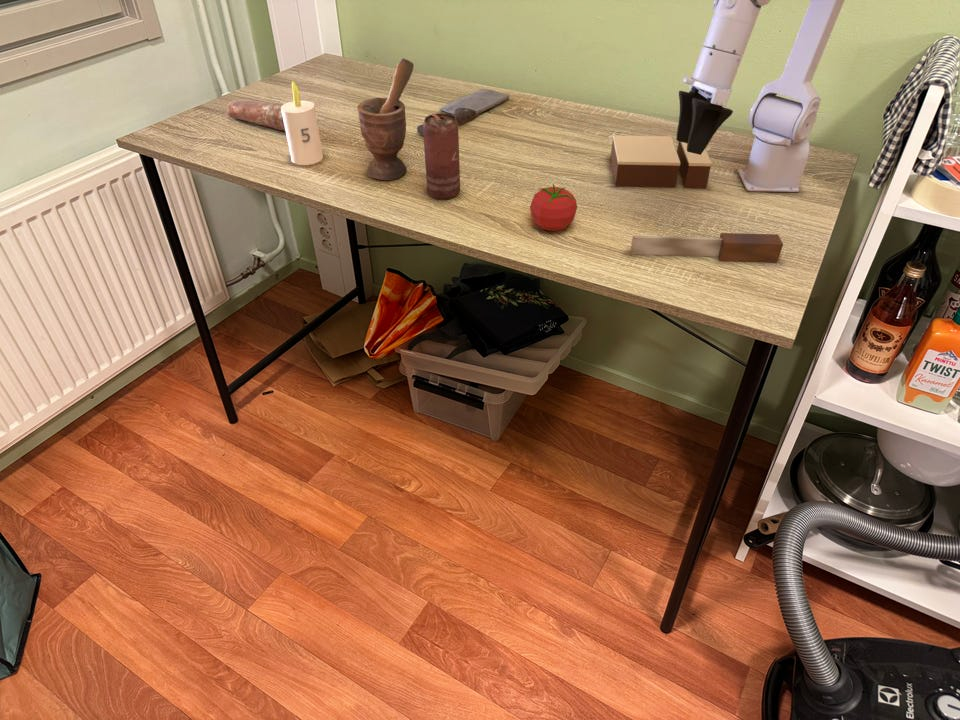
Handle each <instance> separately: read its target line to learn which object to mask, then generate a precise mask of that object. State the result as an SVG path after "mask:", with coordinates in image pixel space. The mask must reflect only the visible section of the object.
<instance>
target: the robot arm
mask: <svg viewBox="0 0 960 720" xmlns="http://www.w3.org/2000/svg"><path fill="white" fill-rule="evenodd" d="M770 2H771V0H713V3H712V10H713V11H714V12H713V15H712V18H711V21H710V24H709V26H708V31H707V33H706V36H705V39H704V41H703V44H702V47H701V50H700V53H699V56H698V59H697V61H696V65H695V68H694V70H693V73H692V77H688V76H683V77H682V80H681V82H682V83H684V84H687V85H689V88H688V89H689V92H688V91H684V90H678V98H679V116H678V123H677V131H676V138H675V139H676V141H677V142H679V141H680V142H684V143H687V152H691V153H695V154H699V155H701V154H702V152H703V151H704V150H705V149H706V148H707V146H708V145H709V143H710V142H711V140H712V139H713V137H714V135H715V134H716V133H717V131H718V129H719V128H721V126H722V125H723V124H724V122H726V121H727V120H728V119H729V118H730V117H731V116H732V115H733V112H734V110H733V109H731V108H727V105H728V103H729V99H730V96H731V94H732V90H733V89H732V87H733V84H734V81H735V78H736V76H737V73H738V70H739V68H740V64H741V62H742V59H743V56H744V54H745V51H746V49H747V46H748V44H749V40H750V38H751V35H752V33H753V30H754V28H755V25H756V21H757V19H758V16H759V14H760V11H761V9H762V7H764V6H766V5H768V4H770ZM844 3H845V0H810V2H809V3H808V6H807V9H806V12H805V14H804V16H803V19H802V22H801V25H800V27H799V30H798V32H797V35H796V38H795V40H794V41H793V42H794V43H793V45H792V48H791V50H790V53H789V56H788V58H787V61H786V64H785V66H784V68H783V71H782V73H781V75H780V77H779V78H776V79H774V80H772V81H769V82H768V83H766V84H764V85H763V87H762V88H761V90H760V93H759V95H758V96H757V99H755V101H754V102H753V105H751V109H750V111H749V117H748V119H749V120H748V122H749V126H750V128H752V132H751V133H752V135H754V140H753V141H752V142H753V143H752V147H751V151H750V153H749V158H748V161H747V165H746V167H745V168H746V169H738V170H737V174H738V175H739V178H740V181H742V184H743V186H744V189H745V190H746V191H747V192H769V193H770V192H771V193H772V192H776V193H777V192H778V193H799V192H800V188H799V186H800V184H801V180H802V178H803V175H804V172H805V168H806V165H807V163H808V160H809V156H810V140H809V138H807V137H808V136H809V135H810V134H811V132H812V130H813V128H814V126H815V123H816V121H817V116H818V112H819V108H820V105H821V101H822V99H821V97H820V96H821V95H820V94H819V93H818V92H817V90H816V89H815V87H814V85H813V83H812V80H813V78H814V76H815V73H816V71H817V68H818V66H819V63H820V62H821V59H822V56H823V55H824V51H825V50H826V46H827V44H828V42H829V39H830V37H831V34H832V32H833V30H834V28H835V24H836V22H837V19H838V17H839V15H840V12H841V10H842V7H843V5H844ZM778 95H780V96H778ZM781 96H782V97H781ZM792 99H793V100H792Z"/></svg>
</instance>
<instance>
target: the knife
mask: <svg viewBox="0 0 960 720" xmlns="http://www.w3.org/2000/svg"><path fill="white" fill-rule="evenodd" d="M783 247H784V243H783V241H782V239H781V237H780V235H779V234H777V233H775V234H774V233H770V234H769V233H739V232H736V233H735V232H730V233H729V232H720V235H719V237H697V236H696V237H693V236H663V235H662V236H657V235H655V236H654V235H632V239H631V246H630V250H629V251H630V252H629V253H630V255H643V256H644V255H645V256H646V255H647V256H678V257H679V256H681V257H717V258H718V260H719V262H739V263H740V262H743V263H744V262H745V263H778V261H779V258H780V255H781V253H782V249H783Z"/></svg>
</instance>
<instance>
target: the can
mask: <svg viewBox="0 0 960 720" xmlns="http://www.w3.org/2000/svg"><path fill="white" fill-rule="evenodd" d="M422 124H423V135H422V136H423V145H424V146H423V150H424V165H425V179H426V180H425V181H426V192H427V194H428V195H429V196H430V197H431V198H433V200H434V199H435V200H438V201H448V200H453V199H455V198H456V197H457V196H458V195H459V194H460V192H461V173H460V171H461V169H460V138H459V136H460V134H459V125H458V122H457V120H456V118H455V117H454V116H453V115H452V114H451V113H447V112H438V113H431V114H429V115H427V116H425V118H424V121H423V123H422Z"/></svg>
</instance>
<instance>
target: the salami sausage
mask: <svg viewBox="0 0 960 720" xmlns="http://www.w3.org/2000/svg"><path fill="white" fill-rule="evenodd" d="M283 104H284V103H278V102H268V101H256V100H241V99H240V100H239V99H234V100H231V101H230V102H229V103H228V104H227V107H226V113H227V115H228V116H229V117H230V118H234V119H237V120H242V121H245V122H248V123H251V124H255V125H259V126H264V127H268V128H272V129H276V130H279V131H282V132H286V130H285V125H284V121H283V116H282V111H281V106H282V105H283Z"/></svg>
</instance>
